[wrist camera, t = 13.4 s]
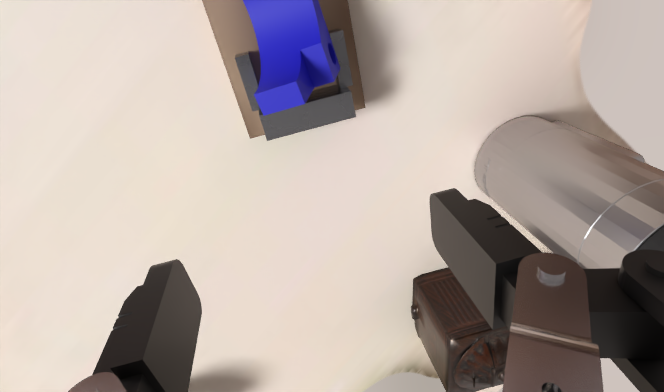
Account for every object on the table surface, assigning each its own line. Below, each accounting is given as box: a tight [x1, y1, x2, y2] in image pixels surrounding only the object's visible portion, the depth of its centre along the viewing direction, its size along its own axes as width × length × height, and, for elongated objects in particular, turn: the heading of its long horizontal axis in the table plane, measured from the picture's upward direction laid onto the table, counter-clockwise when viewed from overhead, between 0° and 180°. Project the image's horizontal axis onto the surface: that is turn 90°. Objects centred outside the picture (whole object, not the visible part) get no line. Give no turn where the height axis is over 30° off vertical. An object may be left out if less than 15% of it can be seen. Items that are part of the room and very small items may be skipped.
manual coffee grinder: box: [411, 268, 510, 392], centre depth 40 cm, size 16×11×18 cm
